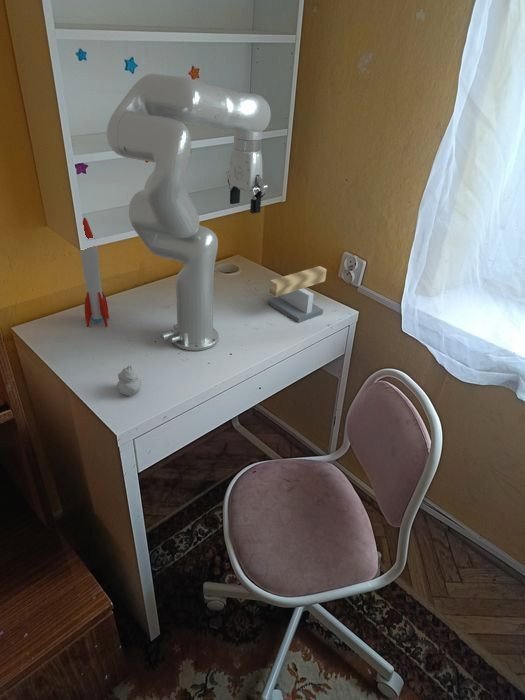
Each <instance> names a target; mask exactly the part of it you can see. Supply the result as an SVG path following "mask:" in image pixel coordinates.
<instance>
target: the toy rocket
mask: <svg viewBox="0 0 525 700" xmlns="http://www.w3.org/2000/svg"><path fill="white" fill-rule="evenodd" d="M82 224H83V225H84V231H85V235H86V237H87V238H88V239H89V238H93V236H94V234H93V232H92V230H91V227H90V224H89V222H88V220H87V218H86V217H83V219H82ZM79 254H80V259H81V267H82V271H83V277H84V283H85V290H86V295H85V301H84V318H85V323H86V328H89V327H90V322H91V321H92V322H94V323H99V322H103V324H104V326H105V327H106V328H108V319H110V315H109V306H108V301H107V299H106V294H105V292H103V289H102V278H101V269H100V259H99V258H100V256H99V249H98V245H97V246H93V247H90V248H87V249H85V250H80V249H79Z"/></svg>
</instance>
